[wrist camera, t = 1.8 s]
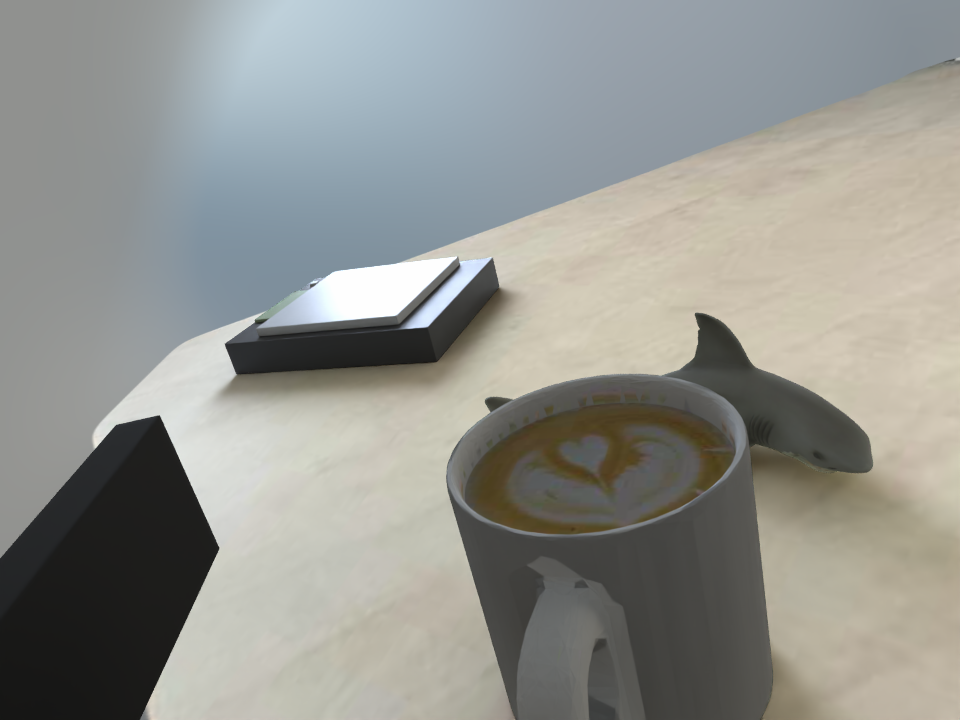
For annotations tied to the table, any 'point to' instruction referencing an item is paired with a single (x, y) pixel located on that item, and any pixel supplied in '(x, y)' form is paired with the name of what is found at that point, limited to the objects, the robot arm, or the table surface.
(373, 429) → the table surface
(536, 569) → the coffee mug
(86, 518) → the robot arm
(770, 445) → the shark figurine
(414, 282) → the scale
